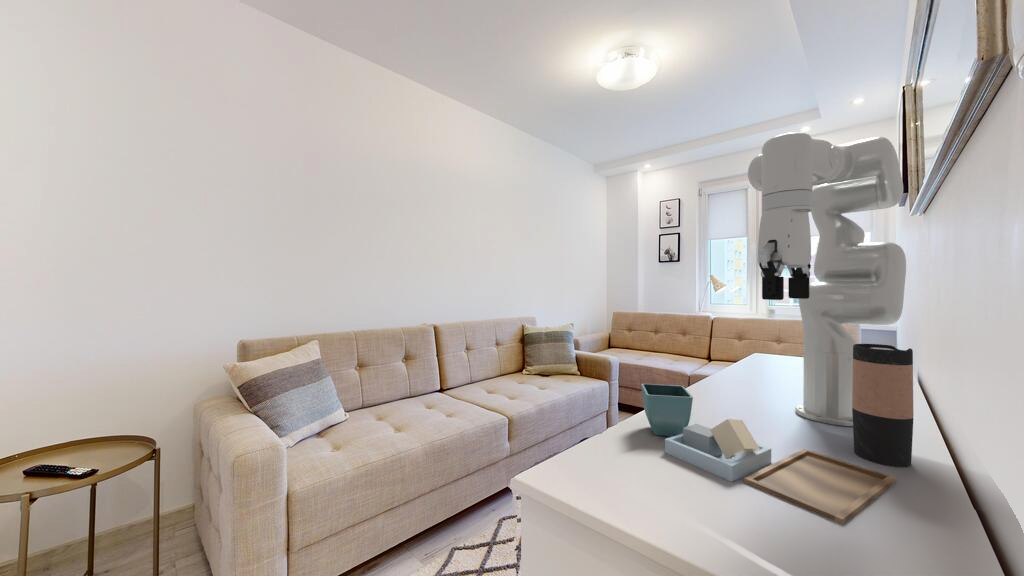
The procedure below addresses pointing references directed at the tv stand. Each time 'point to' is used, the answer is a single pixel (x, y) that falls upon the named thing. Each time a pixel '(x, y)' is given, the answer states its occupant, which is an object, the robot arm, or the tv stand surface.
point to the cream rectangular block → (734, 439)
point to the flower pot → (667, 408)
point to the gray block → (701, 440)
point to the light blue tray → (718, 459)
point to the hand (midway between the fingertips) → (786, 299)
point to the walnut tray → (822, 484)
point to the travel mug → (883, 404)
